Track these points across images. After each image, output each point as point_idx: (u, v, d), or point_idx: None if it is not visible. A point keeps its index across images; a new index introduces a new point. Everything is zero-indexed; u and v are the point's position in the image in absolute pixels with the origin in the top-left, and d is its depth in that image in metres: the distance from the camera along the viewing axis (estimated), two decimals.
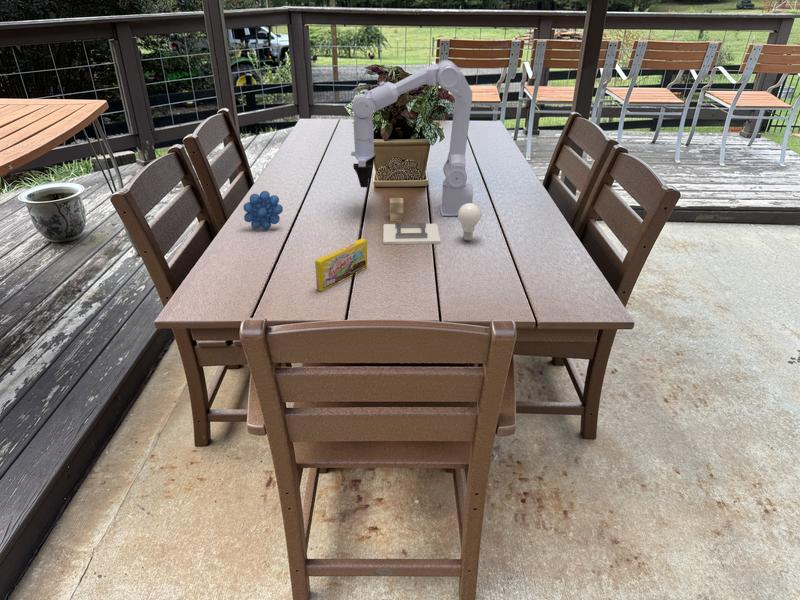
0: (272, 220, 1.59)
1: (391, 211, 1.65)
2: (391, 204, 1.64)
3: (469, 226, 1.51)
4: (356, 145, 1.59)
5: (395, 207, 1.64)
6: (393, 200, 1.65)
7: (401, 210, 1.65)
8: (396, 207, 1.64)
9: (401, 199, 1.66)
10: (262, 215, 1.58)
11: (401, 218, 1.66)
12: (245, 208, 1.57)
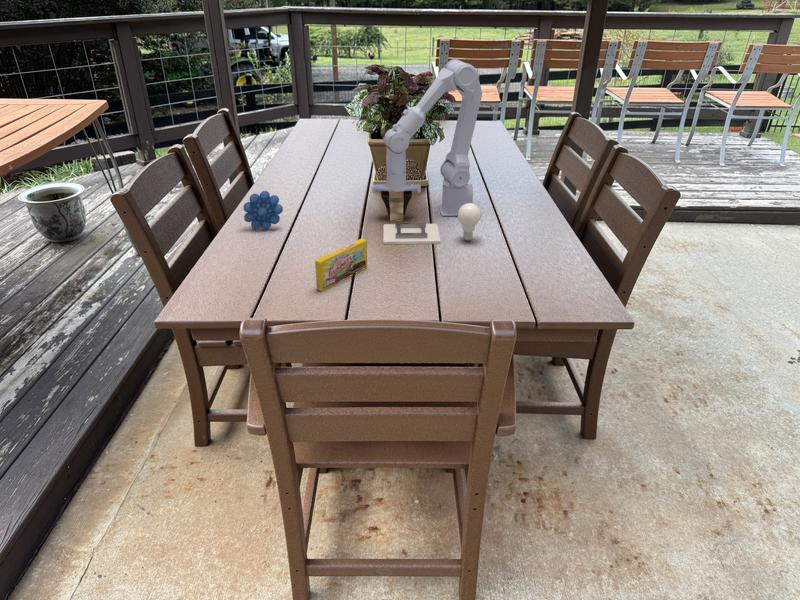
0: (272, 220, 1.59)
1: (391, 211, 1.65)
2: (391, 204, 1.64)
3: (469, 226, 1.51)
4: None
5: (394, 206, 1.64)
6: (393, 200, 1.65)
7: (401, 210, 1.65)
8: (396, 207, 1.64)
9: (401, 199, 1.66)
10: (262, 215, 1.58)
11: (401, 218, 1.66)
12: (245, 208, 1.57)
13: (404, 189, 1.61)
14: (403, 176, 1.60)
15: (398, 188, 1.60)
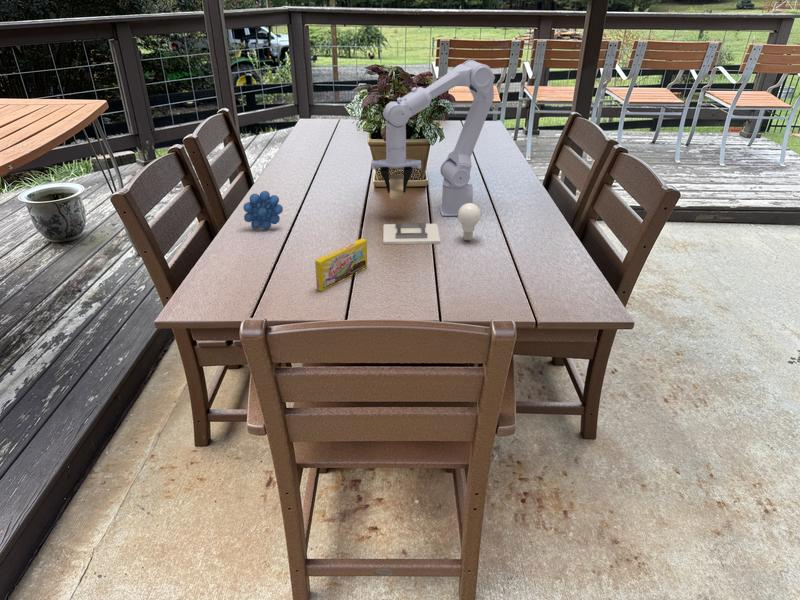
0: (272, 220, 1.59)
1: (391, 188, 1.61)
2: (391, 180, 1.60)
3: (469, 226, 1.51)
4: None
5: (394, 183, 1.60)
6: (393, 177, 1.61)
7: (401, 187, 1.61)
8: (396, 184, 1.61)
9: (401, 176, 1.62)
10: (262, 215, 1.58)
11: (401, 195, 1.62)
12: (245, 208, 1.57)
13: (404, 165, 1.57)
14: (403, 151, 1.56)
15: (398, 164, 1.57)
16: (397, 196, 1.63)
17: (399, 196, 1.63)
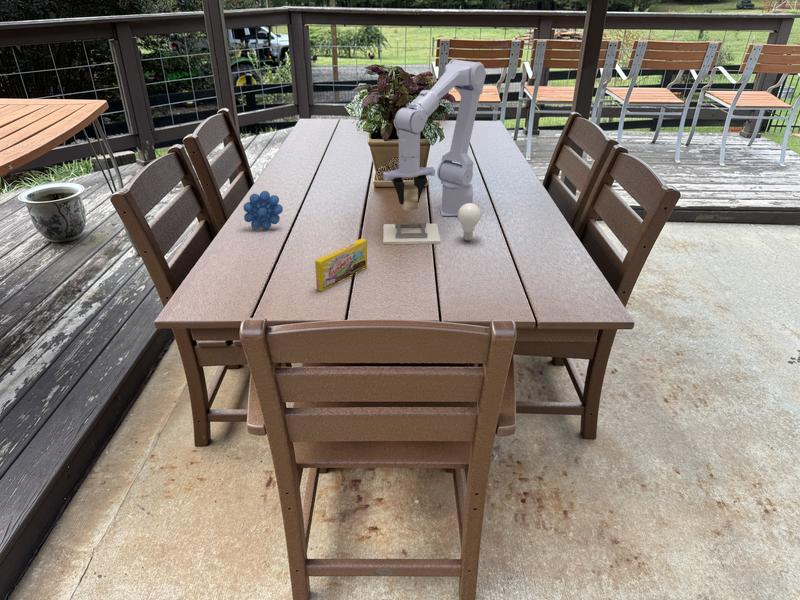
0: (272, 220, 1.59)
1: (405, 199, 1.52)
2: (405, 191, 1.51)
3: (469, 226, 1.51)
4: None
5: (409, 194, 1.51)
6: (406, 187, 1.52)
7: (416, 197, 1.53)
8: (410, 194, 1.52)
9: (413, 185, 1.53)
10: (262, 215, 1.58)
11: (415, 205, 1.54)
12: (245, 208, 1.57)
13: (420, 173, 1.49)
14: (418, 159, 1.47)
15: (414, 173, 1.48)
16: (411, 207, 1.54)
17: (413, 207, 1.54)
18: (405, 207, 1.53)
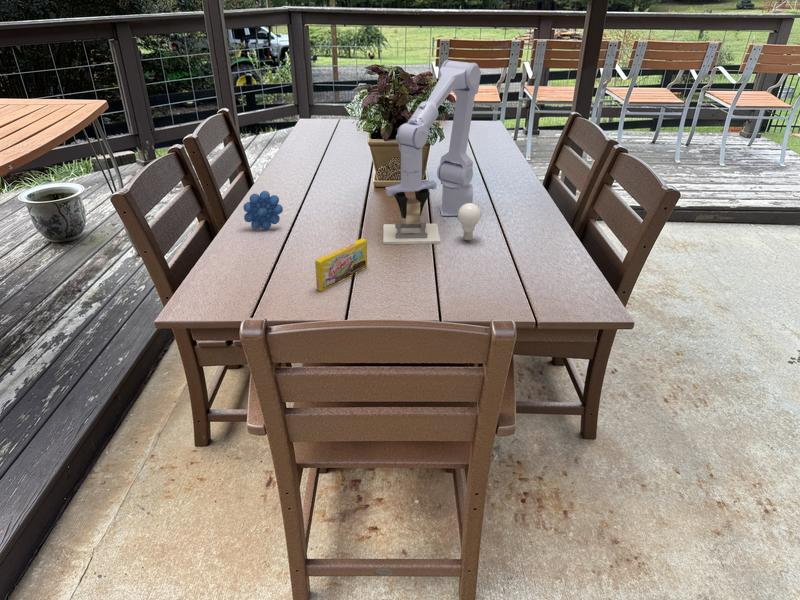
0: (272, 220, 1.59)
1: (408, 213, 1.52)
2: (408, 205, 1.51)
3: (469, 226, 1.51)
4: None
5: (412, 208, 1.52)
6: (408, 201, 1.52)
7: (418, 210, 1.53)
8: (413, 208, 1.52)
9: (414, 199, 1.54)
10: (262, 215, 1.58)
11: (418, 219, 1.55)
12: (245, 208, 1.57)
13: (422, 187, 1.49)
14: (421, 174, 1.48)
15: (417, 187, 1.48)
16: (414, 221, 1.54)
17: (416, 220, 1.55)
18: (408, 221, 1.54)
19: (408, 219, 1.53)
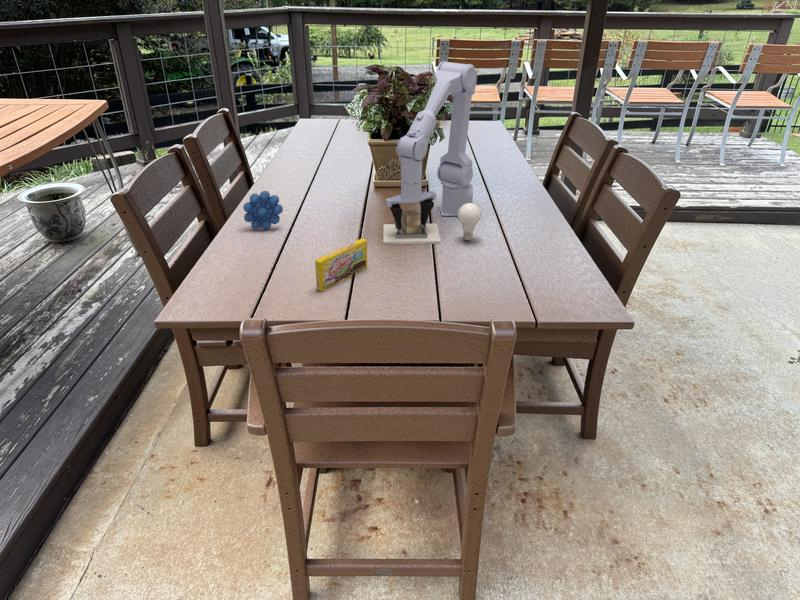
0: (272, 220, 1.59)
1: (408, 225, 1.54)
2: (408, 217, 1.53)
3: (469, 226, 1.51)
4: None
5: (412, 220, 1.54)
6: (408, 213, 1.54)
7: (418, 222, 1.55)
8: (413, 220, 1.54)
9: (414, 211, 1.56)
10: (262, 215, 1.58)
11: (418, 231, 1.56)
12: (245, 208, 1.57)
13: (422, 198, 1.51)
14: (421, 185, 1.49)
15: (417, 198, 1.50)
16: (414, 232, 1.56)
17: (416, 232, 1.56)
18: None
19: (408, 231, 1.55)
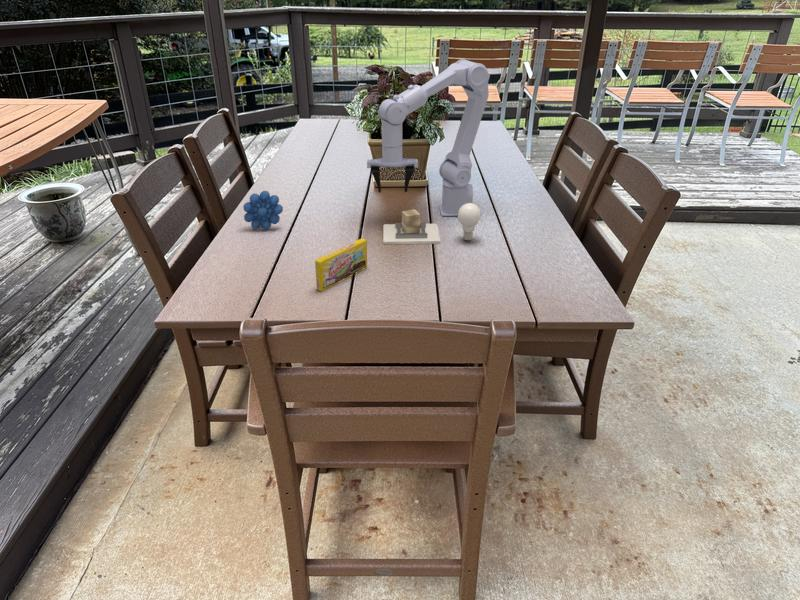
0: (272, 220, 1.59)
1: (408, 225, 1.54)
2: (408, 217, 1.53)
3: (469, 226, 1.51)
4: None
5: (412, 220, 1.54)
6: (408, 213, 1.54)
7: (418, 222, 1.55)
8: (413, 220, 1.54)
9: (414, 211, 1.56)
10: (262, 215, 1.58)
11: (418, 231, 1.56)
12: (245, 208, 1.57)
13: (400, 164, 1.54)
14: (399, 150, 1.52)
15: (394, 162, 1.53)
16: (414, 232, 1.56)
17: (416, 232, 1.56)
18: None
19: (408, 231, 1.55)
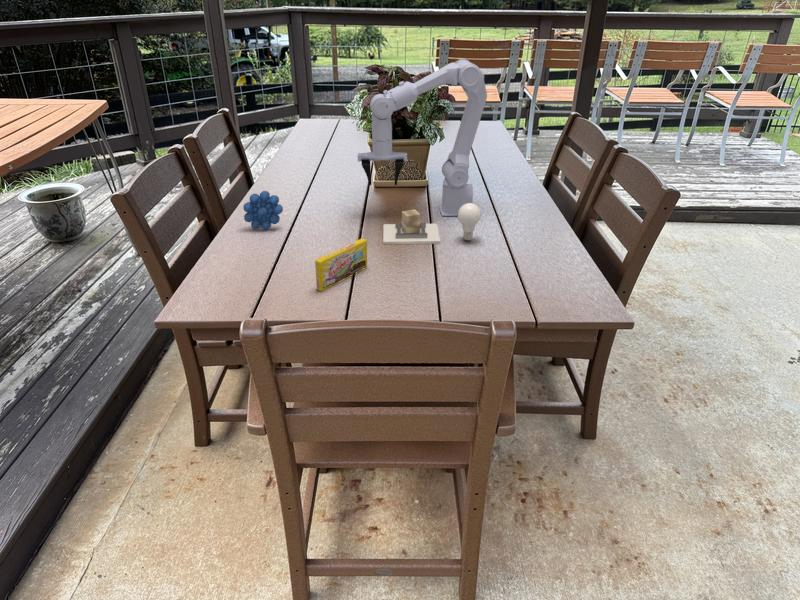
0: (272, 220, 1.59)
1: (408, 225, 1.54)
2: (408, 217, 1.53)
3: (469, 226, 1.51)
4: None
5: (412, 220, 1.54)
6: (408, 213, 1.54)
7: (418, 222, 1.55)
8: (413, 220, 1.54)
9: (414, 211, 1.56)
10: (262, 215, 1.58)
11: (418, 231, 1.56)
12: (245, 208, 1.57)
13: (390, 157, 1.58)
14: (389, 143, 1.56)
15: (384, 156, 1.57)
16: (414, 232, 1.56)
17: (416, 232, 1.56)
18: None
19: (408, 231, 1.55)
